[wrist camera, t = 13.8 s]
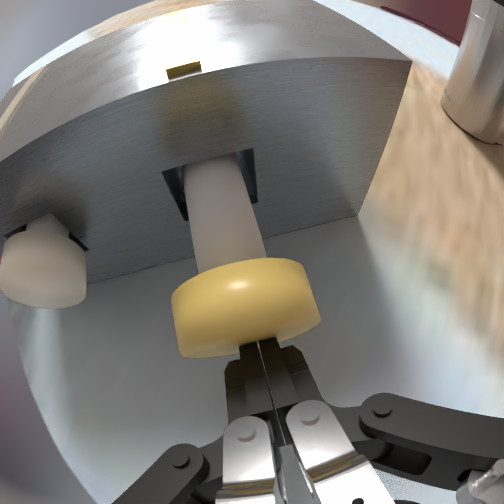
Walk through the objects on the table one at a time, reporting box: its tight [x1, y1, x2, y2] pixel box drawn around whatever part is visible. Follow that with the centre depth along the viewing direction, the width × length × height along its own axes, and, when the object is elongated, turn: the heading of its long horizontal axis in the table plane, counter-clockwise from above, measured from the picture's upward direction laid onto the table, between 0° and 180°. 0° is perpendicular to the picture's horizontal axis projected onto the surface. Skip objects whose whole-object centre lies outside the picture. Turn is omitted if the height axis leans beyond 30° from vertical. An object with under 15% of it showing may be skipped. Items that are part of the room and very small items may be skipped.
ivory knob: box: [0, 213, 87, 309], centre depth 15 cm, size 15×5×5 cm, turn 14°
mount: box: [0, 0, 412, 285], centre depth 15 cm, size 12×23×12 cm, turn 104°
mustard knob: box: [171, 152, 322, 358], centre depth 13 cm, size 15×5×5 cm, turn 14°
